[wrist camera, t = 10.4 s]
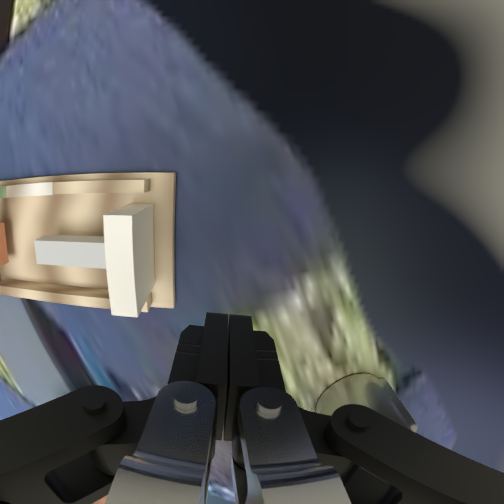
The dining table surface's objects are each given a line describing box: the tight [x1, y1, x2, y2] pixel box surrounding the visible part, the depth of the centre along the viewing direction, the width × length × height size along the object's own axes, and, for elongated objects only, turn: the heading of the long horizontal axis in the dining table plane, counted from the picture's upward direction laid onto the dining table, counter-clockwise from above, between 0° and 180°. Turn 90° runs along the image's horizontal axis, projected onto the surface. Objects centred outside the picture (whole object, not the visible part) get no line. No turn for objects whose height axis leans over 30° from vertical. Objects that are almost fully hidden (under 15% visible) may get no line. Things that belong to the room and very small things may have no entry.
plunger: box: [34, 203, 155, 317], centre depth 20 cm, size 10×7×6 cm
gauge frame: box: [0, 172, 176, 312], centre depth 19 cm, size 24×12×9 cm, turn 86°
